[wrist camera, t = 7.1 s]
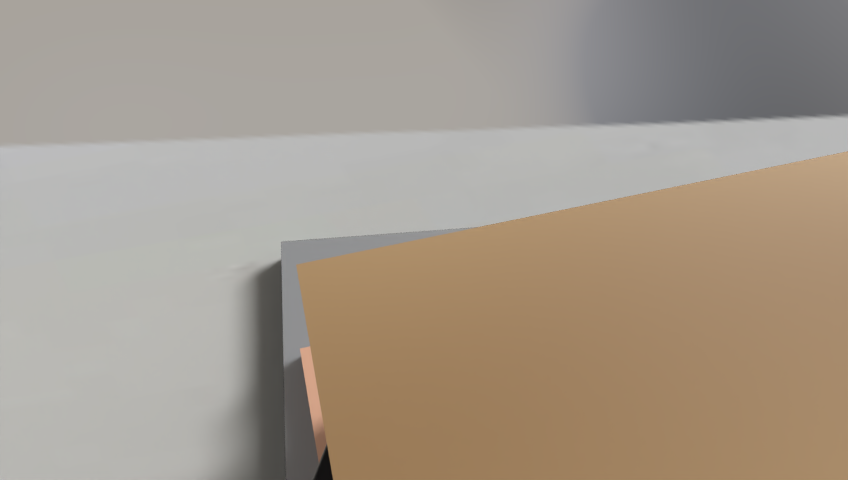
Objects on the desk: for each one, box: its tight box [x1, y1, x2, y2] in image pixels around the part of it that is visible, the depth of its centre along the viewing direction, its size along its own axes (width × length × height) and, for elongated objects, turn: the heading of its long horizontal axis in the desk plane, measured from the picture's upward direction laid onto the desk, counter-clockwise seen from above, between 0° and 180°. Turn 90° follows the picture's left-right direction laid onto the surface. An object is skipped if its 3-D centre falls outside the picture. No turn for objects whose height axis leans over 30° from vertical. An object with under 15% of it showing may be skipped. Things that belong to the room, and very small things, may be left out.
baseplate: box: [281, 227, 477, 480], centre depth 17 cm, size 22×16×2 cm
